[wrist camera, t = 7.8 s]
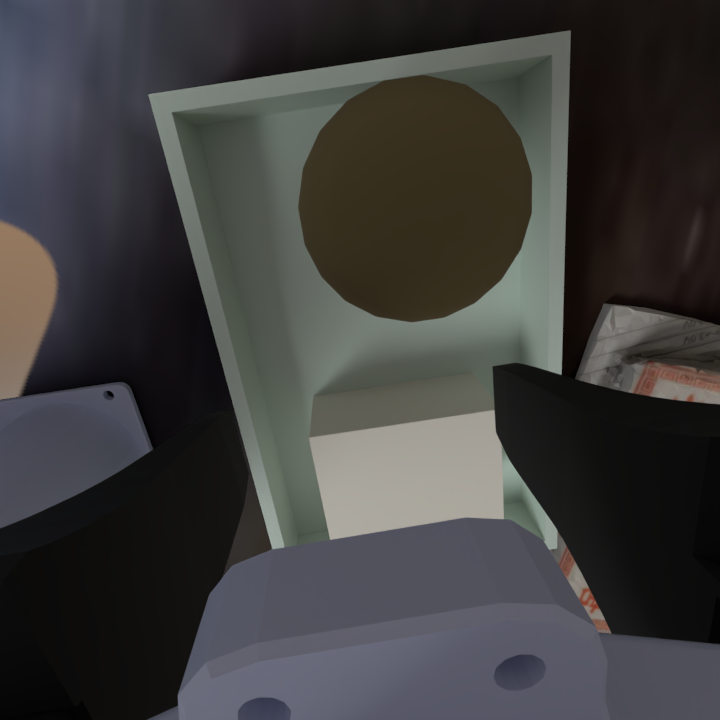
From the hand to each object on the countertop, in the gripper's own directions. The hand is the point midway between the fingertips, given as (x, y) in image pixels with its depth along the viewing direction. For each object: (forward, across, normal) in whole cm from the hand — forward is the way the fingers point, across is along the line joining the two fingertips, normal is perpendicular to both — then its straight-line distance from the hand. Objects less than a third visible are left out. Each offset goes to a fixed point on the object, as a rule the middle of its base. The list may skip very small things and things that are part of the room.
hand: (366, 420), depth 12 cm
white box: (+9, -1, +6) cm, 11 cm away
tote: (+10, -2, +1) cm, 10 cm away
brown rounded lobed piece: (+10, -2, -5) cm, 11 cm away
